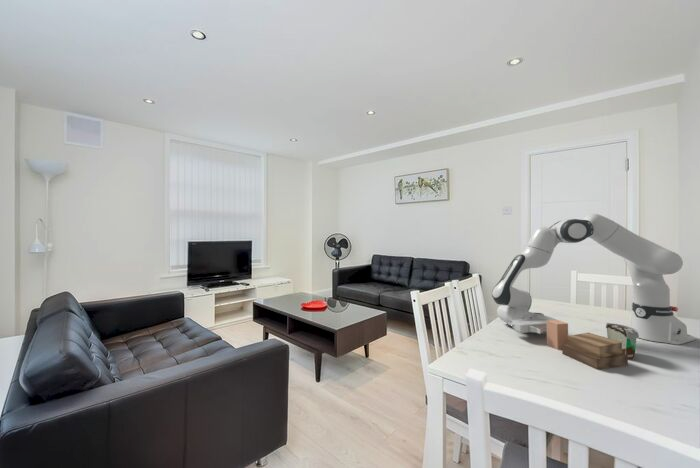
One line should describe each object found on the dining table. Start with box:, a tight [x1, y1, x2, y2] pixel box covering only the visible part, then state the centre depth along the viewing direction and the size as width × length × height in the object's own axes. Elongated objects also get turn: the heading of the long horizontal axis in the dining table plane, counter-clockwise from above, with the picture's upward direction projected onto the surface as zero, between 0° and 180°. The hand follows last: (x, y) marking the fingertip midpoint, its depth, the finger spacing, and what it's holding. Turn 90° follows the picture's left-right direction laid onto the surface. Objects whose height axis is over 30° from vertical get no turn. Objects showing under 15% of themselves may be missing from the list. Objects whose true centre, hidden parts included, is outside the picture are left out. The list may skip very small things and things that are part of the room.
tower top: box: [567, 332, 622, 358], centre depth 107 cm, size 11×11×4 cm
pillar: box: [546, 319, 569, 350], centre depth 119 cm, size 5×5×10 cm
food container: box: [605, 322, 640, 360], centre depth 111 cm, size 12×6×10 cm, turn 168°
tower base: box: [561, 344, 629, 370], centre depth 107 cm, size 13×13×4 cm
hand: (551, 330), depth 122 cm, fingers open, 8 cm apart
